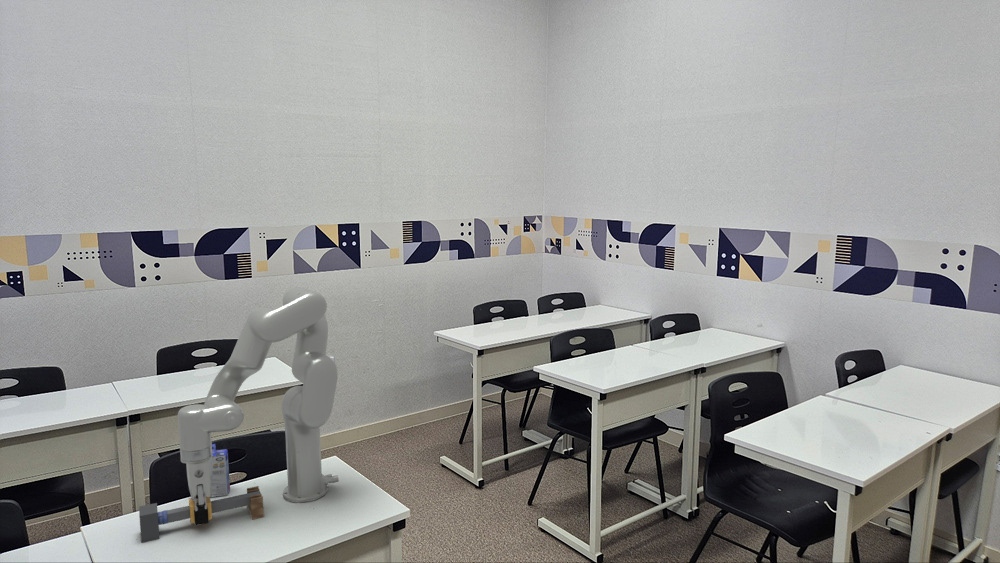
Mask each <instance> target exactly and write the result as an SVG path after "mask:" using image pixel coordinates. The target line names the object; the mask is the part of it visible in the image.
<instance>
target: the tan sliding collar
mask: <svg viewBox="0 0 1000 563" xmlns="http://www.w3.org/2000/svg"><path fill="white" fill-rule="evenodd" d="M203 497H204V496H203ZM211 501H212V500H211V497H207V496H206V503H207V507H208V520H209V521H210V520H213V513H212V509H211ZM197 503H198V501H197ZM188 506H190V517H191V518H189V520H190V524H195V517H194V510H195V502H194V500H192V498H189V499H188Z"/></svg>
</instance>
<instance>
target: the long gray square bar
mask: <svg viewBox="0 0 1000 563" xmlns="http://www.w3.org/2000/svg"><path fill="white" fill-rule="evenodd" d="M258 494H262V492H261V491H257V492H252V493H247V492H246V493H244V494H243V493H242V494H238V495H234V496H228V497H223V498H220V499H215V500H211V509H212V514H216V513H220V512H225V511H231V510H234V509H239V508H244V507H248V506H249V505H250V496H253V495H258ZM160 512H163V515H159V516H158V517H162V516H163V523H161V524H158V525H159V526H160V525H166V524H170V523H174V522H175V523H176V522H179V521H184V520H190V518H191V517H190V506H189V505H187V506H185V505H184V506H181V507H178V508H177V507H176V508H172V509H166V510H162V511H160Z"/></svg>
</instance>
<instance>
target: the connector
mask: <svg viewBox="0 0 1000 563" xmlns="http://www.w3.org/2000/svg"><path fill="white" fill-rule="evenodd" d="M138 509H139V512H138V513H139V528H140V538H141V539H140V541H141V543H142V544H143V543H146V542H152V541H156V540H159V539H160V538H161V537H160V525H158V524H161V523H163V516H162V517H158V516H159V515H163V512H161V511H158V503H157V502H155V503H149V504H145V505H140V506H138Z"/></svg>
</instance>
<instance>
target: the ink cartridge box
mask: <svg viewBox="0 0 1000 563" xmlns="http://www.w3.org/2000/svg"><path fill="white" fill-rule="evenodd" d="M212 455H213V456H212V458H211V459H209V466H210V478H211V490H212V496H211V497H210V498H215V497H216V496H217V497H224V496H228V495H229V493H230V491H231V485H230V483H231V482H230V469H229V468H230V467H229V465H230V464H229V452H228V449H217V448H216V443H212Z"/></svg>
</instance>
